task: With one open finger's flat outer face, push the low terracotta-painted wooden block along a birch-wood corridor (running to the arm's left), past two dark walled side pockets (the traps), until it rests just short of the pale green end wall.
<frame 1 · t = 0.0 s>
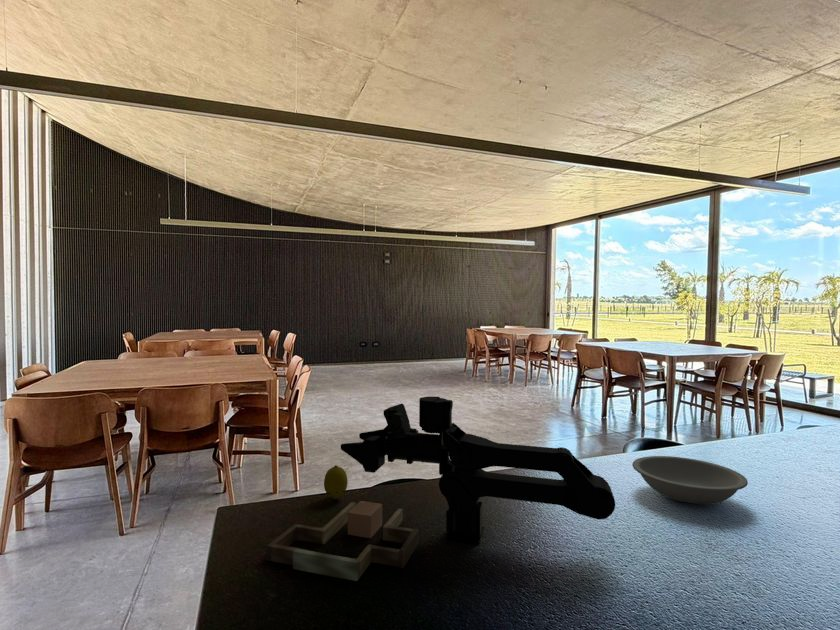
hand: (350, 440, 96), 17 cm above the table, tool horizontal, fingers open, 9 cm apart
block: (365, 530, 91), on the table
soup bowl: (686, 498, 108), on the table
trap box: (354, 540, 86), on the table
lemon: (335, 499, 106), on the table
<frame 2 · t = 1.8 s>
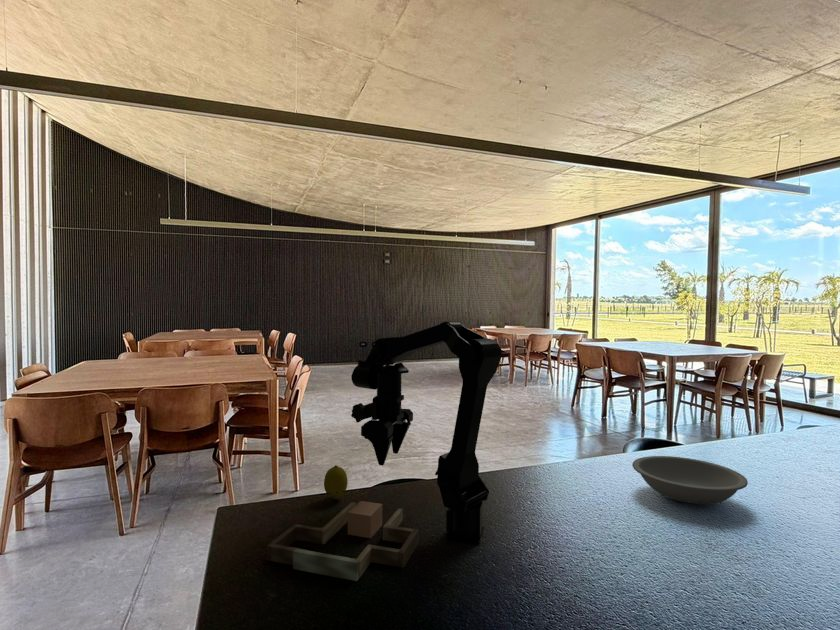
hand: (388, 458, 103), 11 cm above the table, tool pointing down, fingers open, 9 cm apart
nothing on the table moved.
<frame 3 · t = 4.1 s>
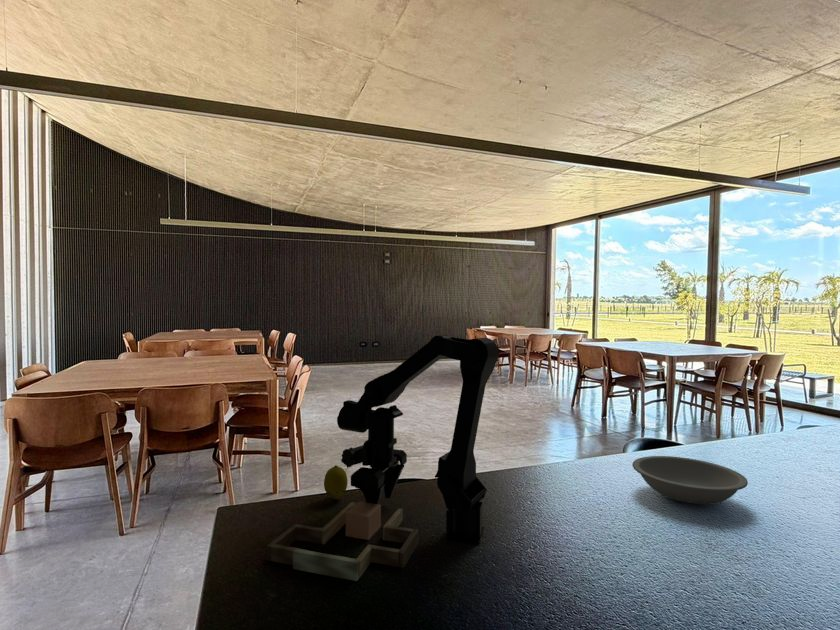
hand: (380, 505, 98), 2 cm above the table, tool pointing down, fingers open, 8 cm apart
block: (363, 531, 90), on the table, touching gripper
everything else where it was.
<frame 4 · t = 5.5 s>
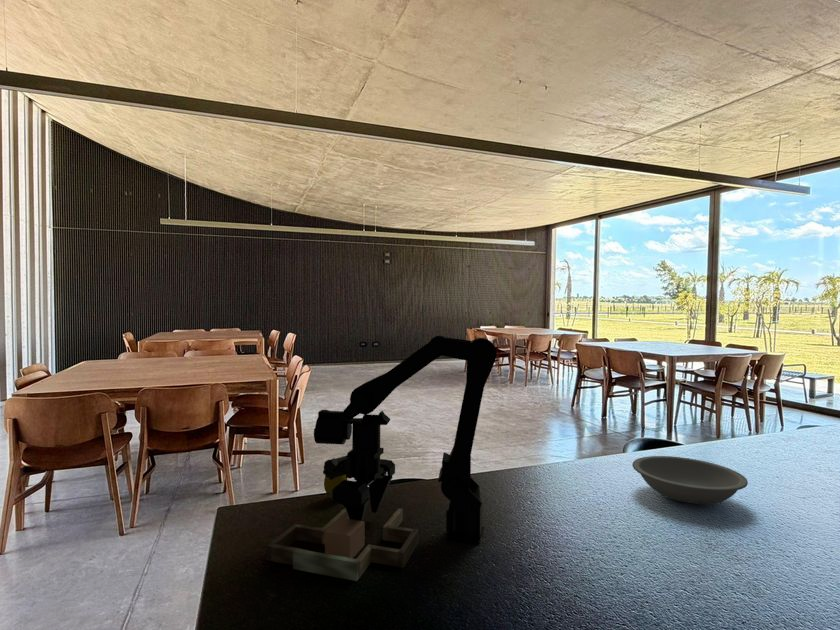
hand: (365, 521, 91), 2 cm above the table, tool pointing down, fingers open, 9 cm apart
block: (345, 550, 82), on the table, touching gripper
everything else where it was.
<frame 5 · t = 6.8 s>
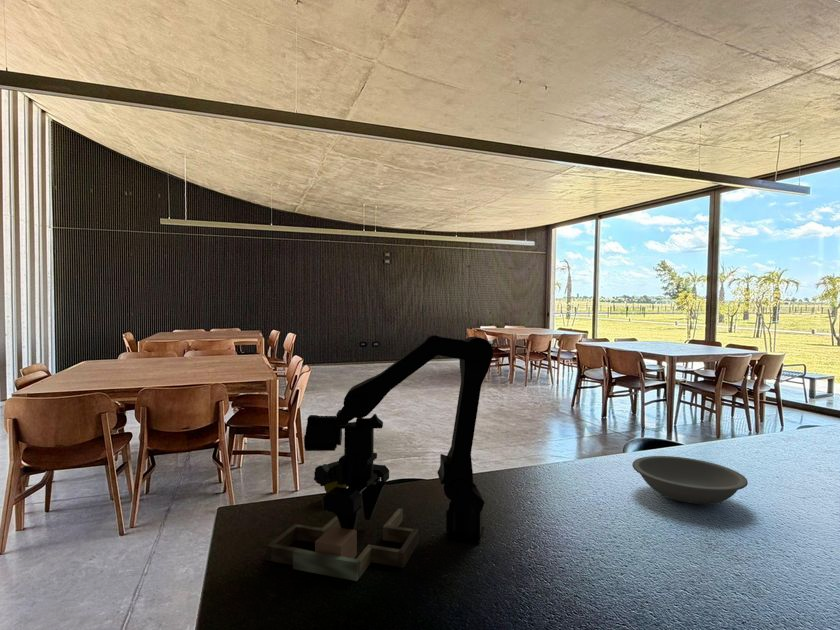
hand: (358, 529, 87), 2 cm above the table, tool pointing down, fingers open, 9 cm apart
block: (336, 561, 78), on the table, touching gripper
everything else where it was.
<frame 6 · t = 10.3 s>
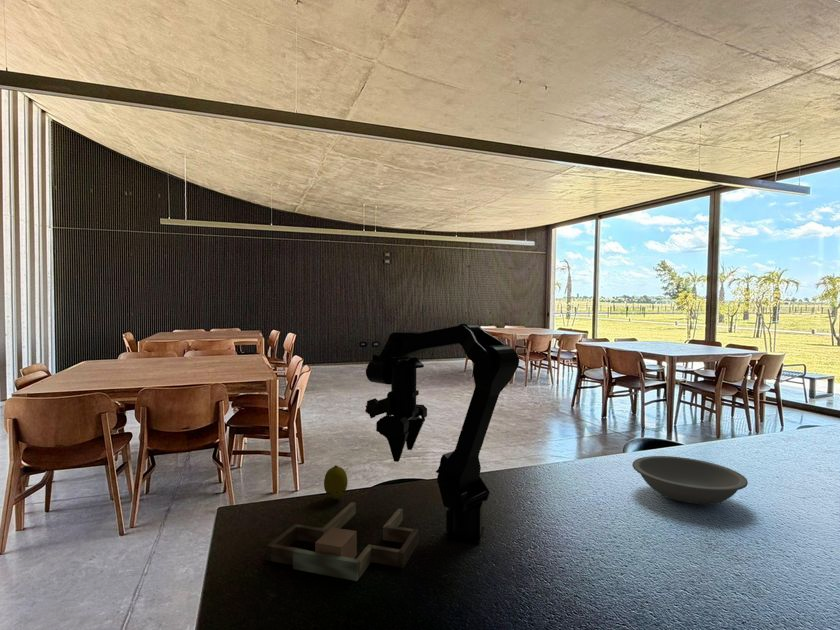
hand: (403, 455, 101), 12 cm above the table, tool pointing down, fingers open, 9 cm apart
block: (336, 562, 78), on the table
everything else where it was.
at the end: block inside the target area (0.1 cm from its centre), on the table; block moved 12.6 cm from its start; block tilted 0° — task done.
